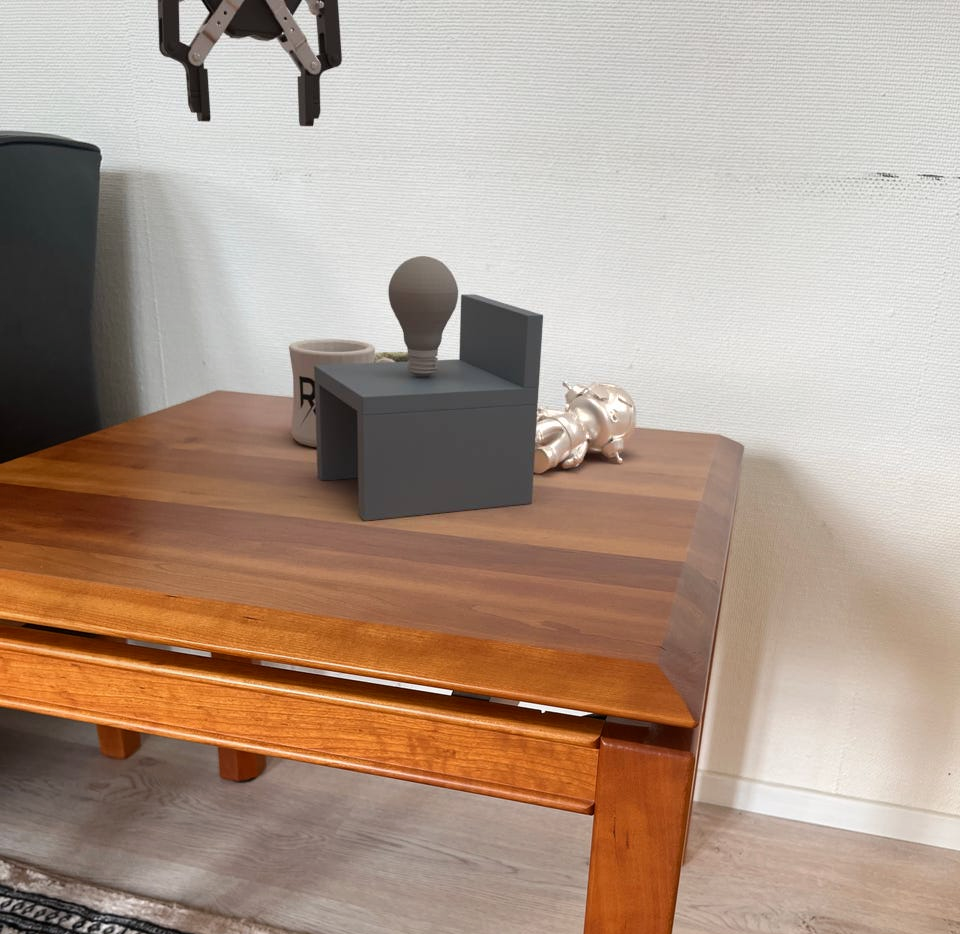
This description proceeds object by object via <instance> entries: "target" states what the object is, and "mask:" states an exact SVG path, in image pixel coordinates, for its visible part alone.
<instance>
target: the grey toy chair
mask: <svg viewBox="0 0 960 934" xmlns="http://www.w3.org/2000/svg"><path fill="white" fill-rule="evenodd" d="M459 320H460V321H459V322H460V324H459V353H458V354H459V355H458V357H459V358H458V359H438V360H435V362H437V364H435V367H437V372H435V373H433V374H430V376H427V377H419V376H415V375H414V374H413V373H411V372H409V371H408V370H407V368H408V363H409V362H384V363H360V364H336V365H315V366H314V377H315V411H316V442H317V447H316V469H317V472H316V473H317V478H318V479H319V480H320V481H322V482H325V481H334V480H347V479H357V486H358V487H357V493H358V498H357V499H358V517H359V518H360V519H361V520H362V521H363V522H367V521H377V520H386V519H395V518H405V517H415V516H425V515H436V514H444V513H453V512H462V511H472V510H473V511H474V510H482V509H492V508H499V507H500V508H501V507H502V508H503V507H510V506H521V505H522V506H523V505H529V504H530V505H531V504H532V502H533V489H534V488H533V487H534V473H535V472H534V457H535V449H536V446H535V440H536V424H537V409H538V408H539V404H538V403H539V389H540V388H539V387H540V375H541V359H542V342H543V328H544V327H543V325H544V314H542V313H537V312H534V311H531V310H528V309H526V308H525V309H524V308H521V307H518V306H514V305H512V304H509V303H506V302H505V303H504V302H501V301H498V300H496V299H491V298H488V297H485V296H482V295H479V294H473V293H472V294H470V293H469V294H461V295H460V317H459Z"/></svg>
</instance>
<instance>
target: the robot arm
mask: <svg viewBox="0 0 960 934" xmlns="http://www.w3.org/2000/svg"><path fill="white" fill-rule="evenodd" d="M184 1H185V0H157V21H158V22H157V23H158V27H157V28H158V48H159V49H158V50H159V52H160V54H161V55H162V56H163V57H165V58H169V59H172V60H174V61H177V62H178V63H179V64H181V65H182V66H183V68H184V71H185V80H186V81H185V83H186V95H187V106H188V108H189V111H190V113H191V114H196V119H197V122H203V123H204V122H206V123H207V122H211V117H212V116H211V99H210V88H209V85H210V84H209V74H208V73H209V72H208V68H205V64H204V63H205V61H206V59H207V57H208V56H209V54H210V52H211V51H212V50H213V48H214V47H215V45H216V44H217V42H218V41H219V40H220V39H221V37H222V35H223V34H225V35H226V36H228V37H229V39H237V40H239V39H244V38H251V39H254V40H257V41H260V42H261V41H262V42H270V41H272V40H274V39H276V40H277V42H278V43H279V45H280V46H281V48H282V49H283V51H285V52H286V53H287V54H288V56H289V57H290V58H291V60H292V62H293V63H294V65H295V67H296V68H297V69H298V71H299V72H300V76H299V75H297V77H296V78H297V103H298V104H297V105H298V123H299V126H300V127H314V123H315V120H316V119H317V120H318V119H319V118H320V115H321V112H322V111H321V76H322V74H323V73H324V72H325V71H329V70H331V69H334V68H338V67H340V66H341V64H342V62H343V54H342V41H341V26H340V25H341V24H340V10H339V0H304V1H305V2H306V4H307V6H308V11H309V12H310V14H312V15H313V16H315V18H316V33H317V44H318V54H316V53H315V52H314V50H313V49H312V47H311V45H310V44H309V42H308V39H307V37H306V35H305V33H304V31H303V30H302V29H301V27H300V25H299V24H298V22H297V20H296V19H295V18H294V15H295V13H296V11H297V9H298V8H299V6H300V5H301V3H302V1H303V0H200V1H201V2H202V4H203V5H204V7H205V9H206V10H207V12H208V14H207V15H206V17H205V19H203V21H202V23H201V25H200V26H199V28H198V29H197V31H196V33H195V35H194V37H193V39H192V40H191V41H190V43H189V45H188V44H186V43H184V42H182V41H181V34H180V33H181V32H180V3H182V2H184Z"/></svg>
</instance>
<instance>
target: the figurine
mask: <svg viewBox="0 0 960 934" xmlns="http://www.w3.org/2000/svg"><path fill="white" fill-rule="evenodd" d="M562 386H563V387H565V388H567V390H568V391H567V392H566V393H565V394H564V398H565V403H566V404H565V409H564V410H562V409H558V408H551V407H548V406H547V407H546V406H545V407H543V406H538V408H537V424H536V440H535V447H537V448H535V457H534V473H535V474H538V475H539V474H542V473H545V472H546V471H547V470H548V469H551V468H555V467H557V466H558V464H560V463H561V462H562V465H561V467H562V469H564V470H568V469H572V468H574V467H578V466H579V465H580V463H583V462H584V457H585V456H586V454H587V453H589V454H599V453H600V454H601V455H603V456H605V457H607V458H608V459H609V458H614V457H615V458H616V463H617V464H622V463H623V458H622V457H620V455H619V454H621V453H622V452H623V451H624V444H625V443H626V442H627V441H629V439H630V438H631V437H632V435H633V434H634V431H635V429H636V426H637V417H638V416H637V408H636V405H635V402H634V399H633V397H632V396H631V395H630V394H629V392H627V390H626V389H624V388H622V387H621V386H619V385H618V384H616V383H612V382H599V383H597V382H595V381H592V382H591V383H589V384H588V385H587V386H585V385H581V384H579V383H576V384H575V385H573V386H572V387H571V386H570V385H569V381H568V380H563V382H562ZM538 446H539V447H538Z"/></svg>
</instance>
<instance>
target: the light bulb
mask: <svg viewBox="0 0 960 934" xmlns="http://www.w3.org/2000/svg"><path fill="white" fill-rule="evenodd" d="M387 289H388V292H387V293H388V301H389V305H390V308H391V310H392V312H393V314H394V316H395V318H396V320H397V322H398V324H399V325H400V328H401V331H402V333H403V334H402V335H403V341H404V344H405V347H406V348H407V352H408V357H409V359H408V362H409V363H408V368H407V370H408V371H409V372H411V373H413V374H414V375H415V376H419V377H427V376H430V374H433V373H435V372H437V367H435V364H437V362H435V360H437V358H438V357H437V356H438V354H439V353H438V351H439V347H440V346H441V344H442V339H443V332H444V330H445V328H446V326H447V324H448V322H449V321H450V319H451V317H452V315H453V313H454V312H455V310H456V308H457V304H458V298H459V288H458V284H457V281H456V279H455V276H454V274H453V273H452V271H451V270H450V269H449V268H448V266H447V265H446V264H445V263H444V262H442V261H440V260H438V259H437V258H434V257H431V256H426V255H420V256H415V257H411V258H409V259H407V260H405V261H403V262H402V263H401V264H400V265H399V266H397V268H396V269H395V270H394V272H393V274H392V276H391V278H390V280H389V284H388V288H387Z"/></svg>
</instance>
